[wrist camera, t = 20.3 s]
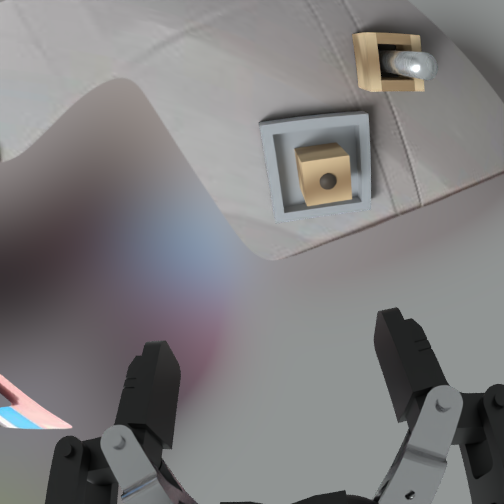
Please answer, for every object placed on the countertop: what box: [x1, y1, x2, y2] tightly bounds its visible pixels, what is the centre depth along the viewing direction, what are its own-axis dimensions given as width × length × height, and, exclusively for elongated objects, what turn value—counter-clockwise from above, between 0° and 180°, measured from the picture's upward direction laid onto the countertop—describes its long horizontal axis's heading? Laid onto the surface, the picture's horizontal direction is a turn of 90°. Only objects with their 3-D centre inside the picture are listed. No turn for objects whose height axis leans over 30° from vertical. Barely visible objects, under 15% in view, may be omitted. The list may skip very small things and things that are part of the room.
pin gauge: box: [378, 50, 438, 80], centre depth 25 cm, size 3×3×10 cm
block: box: [294, 142, 352, 206], centre depth 34 cm, size 5×5×5 cm
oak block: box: [352, 32, 424, 92], centre depth 28 cm, size 6×6×4 cm
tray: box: [259, 111, 371, 224], centre depth 36 cm, size 12×12×2 cm
